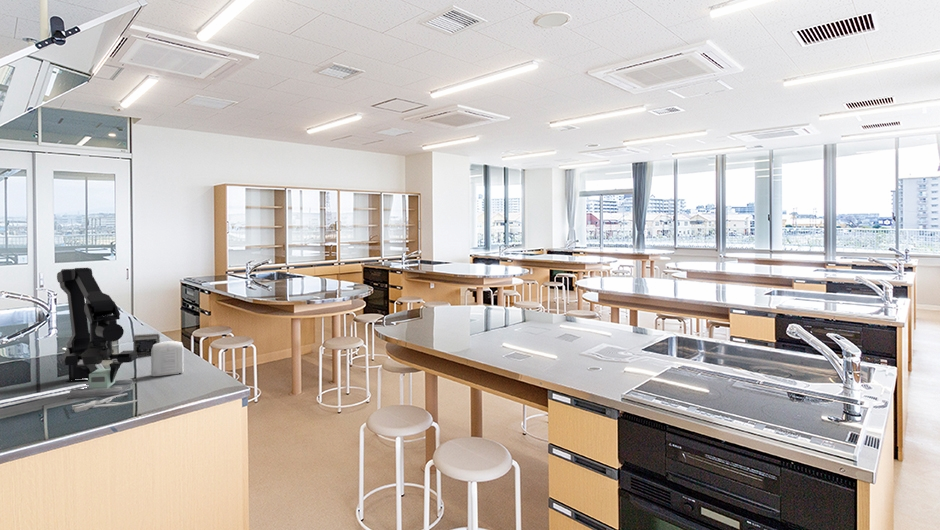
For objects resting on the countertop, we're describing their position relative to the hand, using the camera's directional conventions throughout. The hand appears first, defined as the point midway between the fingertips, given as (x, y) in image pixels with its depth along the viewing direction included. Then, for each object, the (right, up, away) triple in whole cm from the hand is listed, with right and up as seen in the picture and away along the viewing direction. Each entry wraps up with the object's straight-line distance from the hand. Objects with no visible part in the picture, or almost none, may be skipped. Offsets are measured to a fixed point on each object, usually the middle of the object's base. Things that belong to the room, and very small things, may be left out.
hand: (102, 382), depth 159 cm
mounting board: (0, -3, 0) cm, 2 cm away
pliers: (+9, -4, -11) cm, 15 cm away
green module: (0, -1, 0) cm, 1 cm away
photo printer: (+10, -2, +19) cm, 21 cm away
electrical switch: (-14, +1, +44) cm, 46 cm away
